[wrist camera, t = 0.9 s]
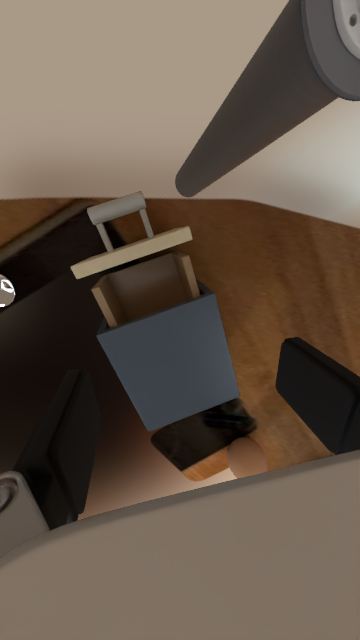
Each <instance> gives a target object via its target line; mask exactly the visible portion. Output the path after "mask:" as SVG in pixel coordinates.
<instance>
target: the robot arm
mask: <svg viewBox="0 0 360 640" xmlns="http://www.w3.org/2000/svg"><path fill="white" fill-rule="evenodd" d="M333 9H334V17H335V21H336V25H337V29H338V32H339V35H340V37H341V39H342V41H343V43H344V45H345V46H346V47H347V49H348V50H349V51H350V53H352V54H353V55H354V56H355V57H357V58H358V59H360V0H333ZM276 389H277V391H278V393H279V394H280V395H281V396H282V397H283V398H284V400H285V401H286V402H287V403H288V404H289V405H290V406H291V408H292V409H293V410H294V411H295V412H296V413H297V414H298V416H299V417H300V418H301V419H302V420H303V421H304V422H305V424H306V425H307V426H308V427H309V428H310V429H311V430H312V432H313V433H314V434H315V435H316V436H317V437H318V438H319V440H320V441H321V442H322V443H323V444H324V445H325V446H326V448H327V449H328V450H329V451H331V452H332V453H335V454H336V455H335V456H330V457H326V458H322V459H318V460H313V461H309V462H305V463H301V464H297V465H292V466H288V467H284V468H280V469H276V470H272V471H268V472H263V473H259V474H255V475H251V476H247V477H243V478H239V479H235V480H231V481H226V482H222V483H218V484H214V485H211V486H207V487H202V488H198V489H194V490H190V491H186V492H182V493H178V494H174V495H170V496H166V497H162V498H158V499H155V500H150V501H146V502H142V503H138V504H135V505H131V506H128V507H124V508H120V509H116V510H112V511H109V512H105V513H102V514H98V515H94V516H91V517H87V518H84V519H81V520H78V521H77V519H78V514H81V513H83V511H84V508H85V504H86V498H87V493H88V488H89V483H90V478H91V473H92V468H93V463H94V458H95V453H96V447H97V442H98V437H99V432H100V427H101V416H100V412H99V408H98V405H97V401H96V398H95V394H94V390H93V387H92V383H91V379H90V376H89V373H88V372H84V370H83V369H78V370H71V371H68V372H67V374H66V376H65V378H64V380H63V381H62V384H61V385H60V387H59V389H58V391H57V393H56V395H55V397H54V399H53V401H52V403H51V405H48V406H47V407H46V408H45V410H44V411H43V413H42V415H41V417H40V419H39V421H38V423H37V425H36V426H35V428H34V430H33V432H32V434H31V436H30V437H29V439H28V441H27V443H26V445H25V447H24V449H23V451H22V452H21V454H20V456H19V458H18V460H17V462H16V464H15V466H14V468H13V469H12V471H10V472H4V473H2V474H0V640H360V377H359V376H357V375H356V374H354V373H353V372H351V371H350V370H348V369H347V368H345V367H344V366H342V365H341V364H339V363H337V362H336V361H334V360H333V359H331V358H330V357H328V356H327V355H325V354H324V353H322V352H321V351H319V350H317V349H316V348H314V347H313V346H311V345H310V344H308V343H307V342H305V341H304V340H302V339H301V338H299V337H294V338H288V339H285V341H284V342H283V343H282V345H281V351H280V358H279V365H278V372H277V378H276Z"/></svg>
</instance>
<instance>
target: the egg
mask: <svg viewBox="0 0 360 640" xmlns="http://www.w3.org/2000/svg"><path fill="white" fill-rule="evenodd" d="M227 458H228V463H229V466H230V469H231V471H232V472H233V473H234V475H235V476H236V478H238V479H239V478H243V477H247V476H251V475H255V474H259V473H263V472H268V465H267V459H266V456H265V453H264V451H263V449H262V448H261V447H260V445H259V444H258V443H256V442H255V441H254V440H252V439H250V438H246V437H241V438H237V439H235V440H234V441H233V442H232V443H231V445H230V446H229V449H228V454H227Z"/></svg>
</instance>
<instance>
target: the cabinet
mask: <svg viewBox="0 0 360 640" xmlns="http://www.w3.org/2000/svg"><path fill="white" fill-rule="evenodd" d="M196 282H197V285H198V289H199V293H200V296H198V297H195V298H193V299H190V300H187V301H184V302H182V303H179V304H176V305H173V306H170V307H168V308H165V309H162V310H159V311H157V312H154V313H151V314H148V315H145V316H143V317H140V318H137V319H134V320H132V321H129V322H126V323H123V324H120V325H118V326H115V327H112V328H110V326H109V324H108V322H107V320H106V318H105V316H104V318H103V321H102V323H101V326H100V328H99V331H98V333H97V338H98V340H99V342H100V343H101V346H102V347H103V349H104V351H105V353H106V355H107V357H108V358H109V360H110V362H111V364H112V366H113V368H114V369H115V371H116V373H117V375H118V377H119V379H120V380H121V382H122V384H123V386H124V388H125V390H126V391H127V393H128V395H129V397H130V399H131V401H132V402H133V404H134V406H135V408H136V410H137V411H138V413H139V415H140V417H141V419H142V421H143V422H144V424H145V426H146V428H147V430H148V431H152V430H154V429H157V428H160V427H162V426H165V425H167V424H170V423H173V422H175V421H178V420H180V419H183V418H185V417H188V416H191V415H193V414H196V413H198V412H201V411H203V410H206V409H209V408H211V407H214V406H216V405H219V404H221V403H224V402H227V401H229V400H232V399H234V398H237V397H239V396H240V393H239V389H238V385H237V381H236V377H235V373H234V369H233V365H232V361H231V356H230V352H229V348H228V344H227V340H226V336H225V332H224V328H223V324H222V320H221V316H220V312H219V308H218V304H217V300H216V296H215V293H214V292H212V291H211V290H210V289H208V288H207V287H206V286H204V285H203V284H202V283H201V282H199V281H198V280H197V279H196Z"/></svg>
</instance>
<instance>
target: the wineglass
mask: <svg viewBox="0 0 360 640" xmlns="http://www.w3.org/2000/svg"><path fill="white" fill-rule="evenodd" d="M14 298H15V288H14V286H13V284H12V283H11V281H10V280H9V279H8V278H6V277H5V276H3V275H1V274H0V307H3V306H7V305H9V304H10V303H12V301H13V300H14Z"/></svg>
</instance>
